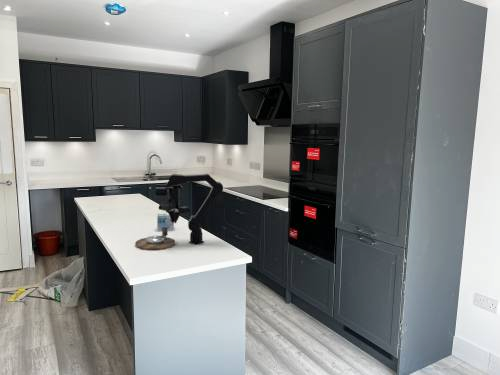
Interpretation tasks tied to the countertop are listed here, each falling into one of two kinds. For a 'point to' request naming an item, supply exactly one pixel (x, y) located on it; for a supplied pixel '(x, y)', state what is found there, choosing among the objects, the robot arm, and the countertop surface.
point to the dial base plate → (146, 246)
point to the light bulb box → (164, 222)
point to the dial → (158, 237)
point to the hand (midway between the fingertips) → (174, 222)
